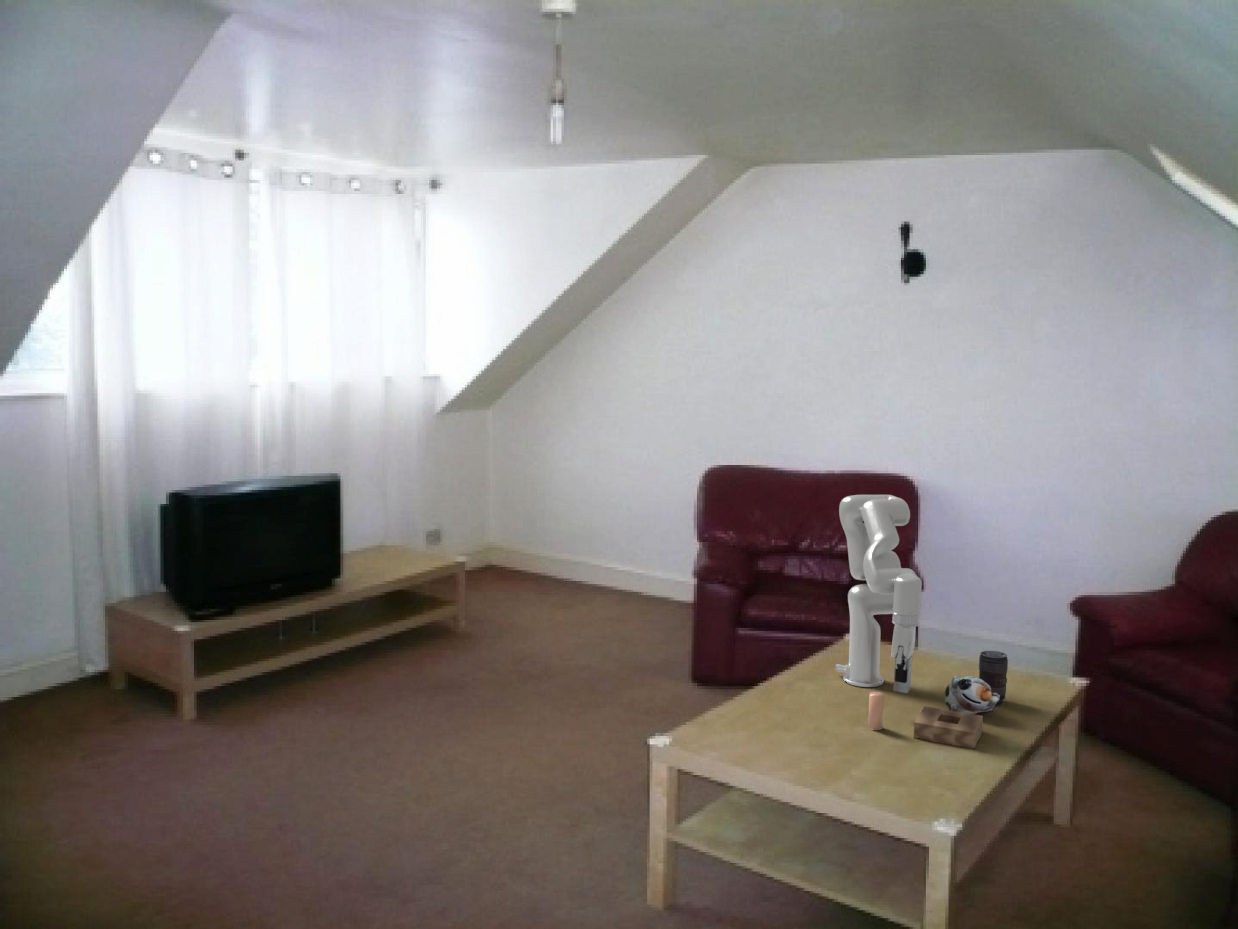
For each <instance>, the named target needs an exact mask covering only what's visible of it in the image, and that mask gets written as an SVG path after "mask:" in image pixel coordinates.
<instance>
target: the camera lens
mask: <svg viewBox="0 0 1238 929" xmlns="http://www.w3.org/2000/svg"><path fill="white" fill-rule="evenodd" d="M978 658H979V659H978V670H979V675H978V678H980V679H982V680H983V681H984V682H986V683H987V684H988V685H989V686H990V688H991V691H992V693H997V694H998V695H1000V699H999V701H998V702H997V704H995V705H998V706H1001V705H1003V704H1004V700H1005V698H1006V694H1007V684H1008V678H1007V673H1008V665H1009V664H1008V662H1009V659H1008V654H1007V653H1004V652H1002V651H997V650H983V651H981V652H980V655H979V657H978Z"/></svg>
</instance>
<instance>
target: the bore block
mask: <svg viewBox="0 0 1238 929" xmlns="http://www.w3.org/2000/svg"><path fill="white" fill-rule="evenodd" d="M983 718H984V715H980V714H969V713H963V712H957V711H951V710H949V709H945V708H944V709H943V708H939V707H931V706H926V705H925V706H923V707H922V709H921V711H920V712H919V714H918V715H917V717H916V719H915V721H914V722H913V723H914V725H913V727H914V728H913V738H914V737H917V738H921V739H920V740H923V739H926V740H925V741H928V740H930V741H929V742H935V743H939V742H943V743H942V744H945V743H947V744H946V745H950V744H952V745H951V746H956V745H957V746H956V747H961V746H962V747H963V748H968V749H972V748H976V746H977V743H978V742H979V739H980V738H981V735H982V732H983V720H984V719H983ZM917 738H916V739H917Z"/></svg>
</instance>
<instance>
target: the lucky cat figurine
mask: <svg viewBox="0 0 1238 929" xmlns="http://www.w3.org/2000/svg"><path fill="white" fill-rule="evenodd" d="M999 699H1000V695H998V694H997V693H992V691H991V688H990V686H989V685H988V684H987V683H986V682H984V681H983V680H982V679H980V678H979V677H975V676H972V675H965V676H964V675H963V676H962V677H959V676H958V675H954V676H953V677H952V680H951V683H949V684H947V686H946V688H945V690H944V704H945V705H946V706H948V708H949V709H950V710H951V711H957V712H963V713H969V714H975V715H977V714H978V713H984V712H992V711H993V710H994V707H996V706H995V704H997V702H998V701H999Z"/></svg>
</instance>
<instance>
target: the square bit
mask: <svg viewBox="0 0 1238 929" xmlns="http://www.w3.org/2000/svg"><path fill="white" fill-rule="evenodd" d="M902 658H904V659H905V657H902ZM896 659H897V655H896V656H895V658H894V671H893V672H894V673H893V674H894V675H893V690H892V691H894V692H898V693H902V694H903V693H904V694H909V691H910V690H911V683H912V668H913V666H912V665H913V655H911V656H910V658H909V659H908V660H907V665H906V669H907V681H906V683H902V682H896V681H895V668H896ZM902 662H903V663H904V661H902Z"/></svg>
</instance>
